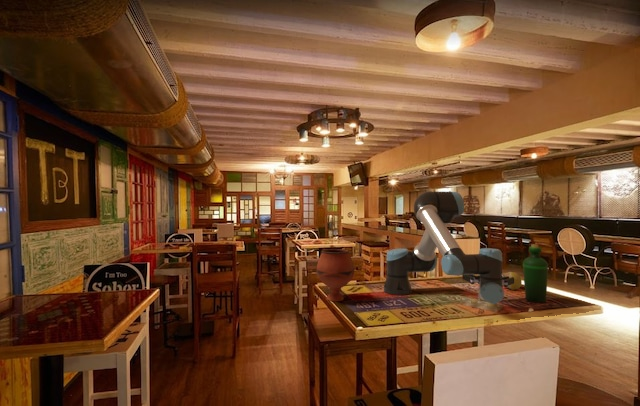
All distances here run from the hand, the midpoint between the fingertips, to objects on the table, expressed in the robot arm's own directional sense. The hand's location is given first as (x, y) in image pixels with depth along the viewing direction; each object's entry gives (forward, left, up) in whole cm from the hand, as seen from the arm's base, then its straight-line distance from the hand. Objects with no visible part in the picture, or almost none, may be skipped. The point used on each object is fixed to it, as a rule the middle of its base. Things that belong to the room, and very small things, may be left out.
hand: (486, 274), depth 146 cm
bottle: (+13, +30, -15) cm, 36 cm away
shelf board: (-3, +1, -15) cm, 16 cm away
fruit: (-2, +46, -15) cm, 48 cm away
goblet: (-59, -39, -15) cm, 73 cm away
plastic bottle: (-1, +1, -14) cm, 14 cm away
